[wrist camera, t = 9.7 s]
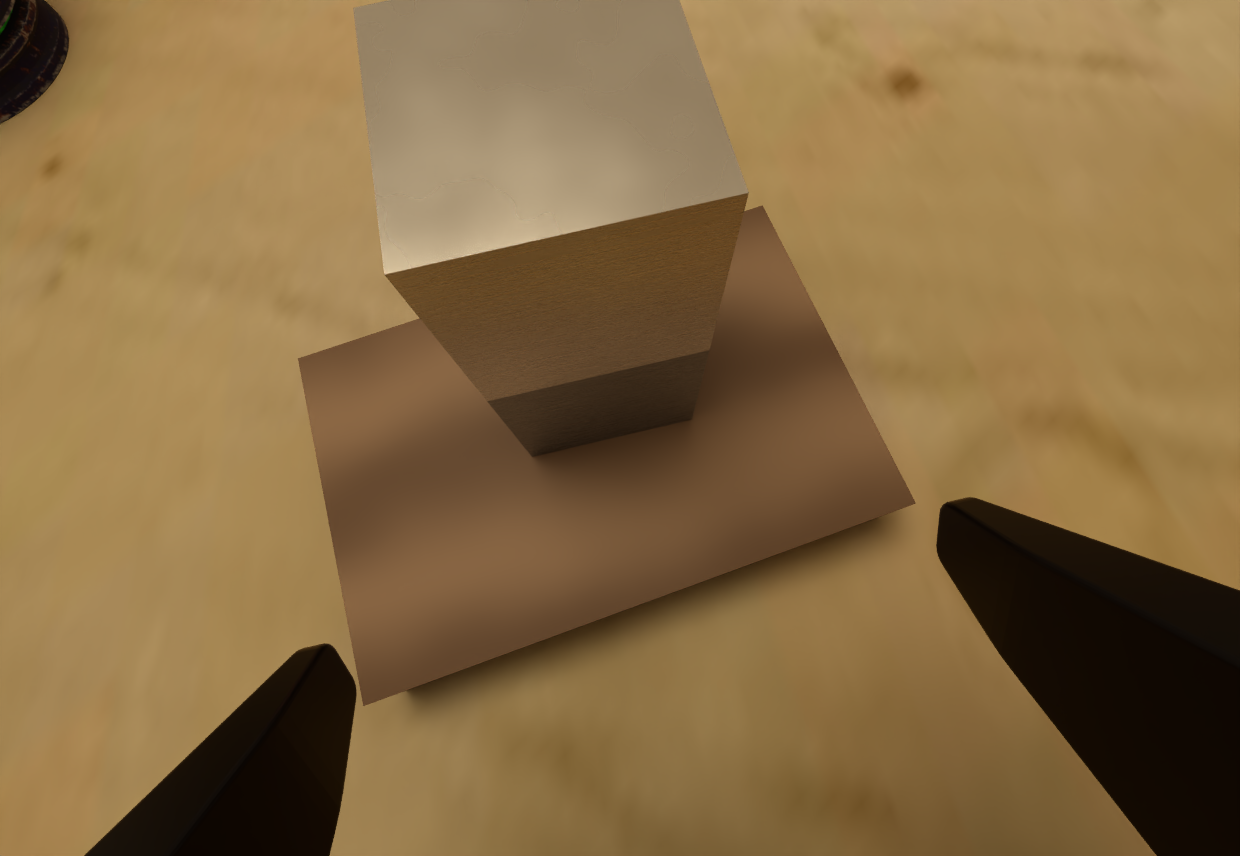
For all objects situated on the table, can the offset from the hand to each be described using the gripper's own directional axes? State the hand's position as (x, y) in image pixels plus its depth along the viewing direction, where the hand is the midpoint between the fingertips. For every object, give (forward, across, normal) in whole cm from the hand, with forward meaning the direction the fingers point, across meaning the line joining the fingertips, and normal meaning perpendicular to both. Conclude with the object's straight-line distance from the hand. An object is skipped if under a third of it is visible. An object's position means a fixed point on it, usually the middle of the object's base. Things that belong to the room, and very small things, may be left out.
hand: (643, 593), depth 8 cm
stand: (+13, +1, +5) cm, 14 cm away
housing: (+12, 0, +1) cm, 12 cm away
